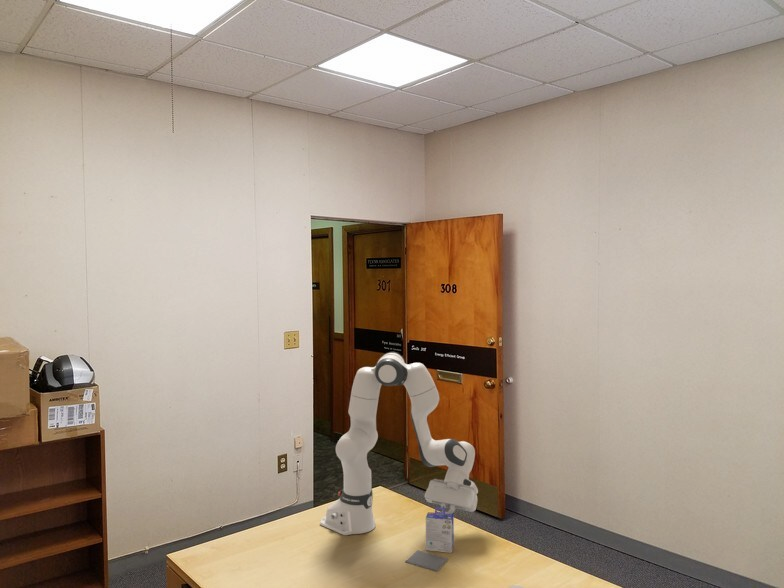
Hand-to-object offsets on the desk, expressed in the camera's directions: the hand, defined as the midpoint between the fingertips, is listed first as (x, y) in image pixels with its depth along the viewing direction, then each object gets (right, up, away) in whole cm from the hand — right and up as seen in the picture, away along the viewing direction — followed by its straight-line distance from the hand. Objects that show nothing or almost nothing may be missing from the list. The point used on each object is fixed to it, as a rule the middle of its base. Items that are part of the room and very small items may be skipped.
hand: (444, 517), depth 205 cm
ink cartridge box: (-2, -10, -4) cm, 11 cm away
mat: (-7, -10, -13) cm, 18 cm away
